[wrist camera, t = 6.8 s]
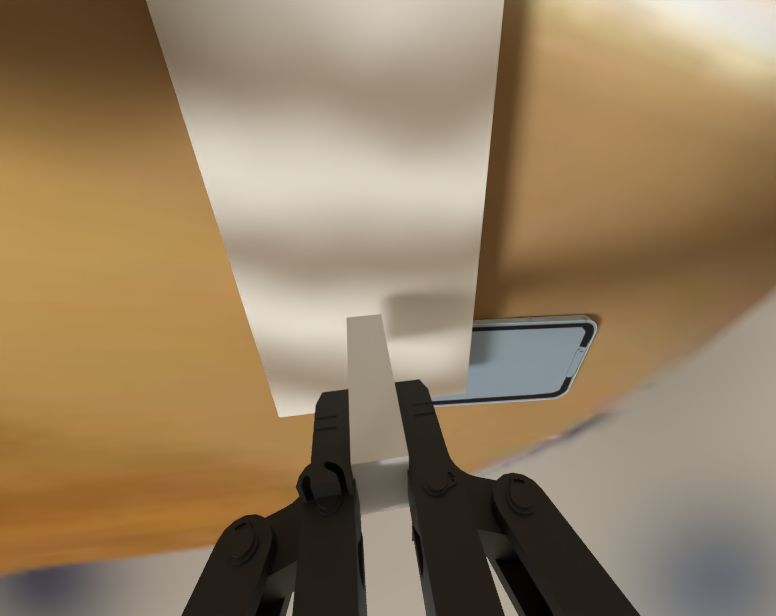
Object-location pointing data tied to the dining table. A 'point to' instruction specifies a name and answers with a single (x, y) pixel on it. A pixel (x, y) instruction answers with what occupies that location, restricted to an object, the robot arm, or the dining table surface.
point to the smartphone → (523, 359)
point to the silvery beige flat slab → (343, 172)
